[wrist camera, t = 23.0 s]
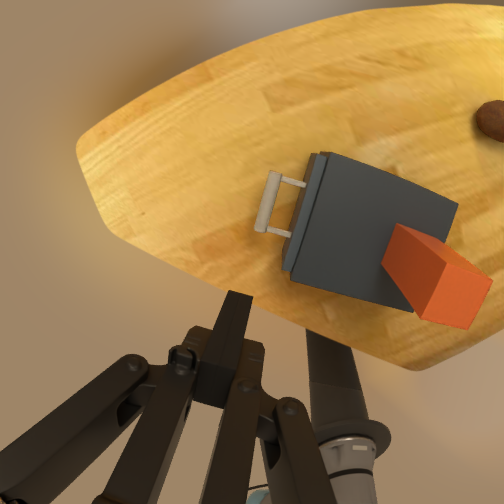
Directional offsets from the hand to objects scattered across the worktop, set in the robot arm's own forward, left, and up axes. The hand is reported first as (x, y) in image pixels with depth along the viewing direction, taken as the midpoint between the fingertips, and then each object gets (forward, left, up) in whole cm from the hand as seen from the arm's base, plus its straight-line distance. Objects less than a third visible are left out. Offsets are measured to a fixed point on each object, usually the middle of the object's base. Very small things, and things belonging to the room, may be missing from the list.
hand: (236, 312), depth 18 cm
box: (+4, -17, -15) cm, 23 cm away
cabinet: (+4, -13, -24) cm, 28 cm away
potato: (+27, -30, -24) cm, 47 cm away
